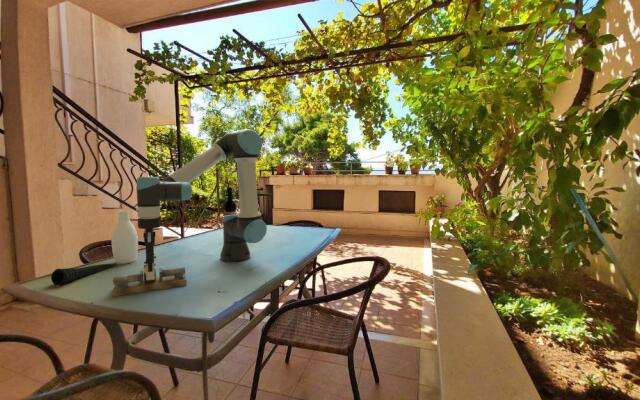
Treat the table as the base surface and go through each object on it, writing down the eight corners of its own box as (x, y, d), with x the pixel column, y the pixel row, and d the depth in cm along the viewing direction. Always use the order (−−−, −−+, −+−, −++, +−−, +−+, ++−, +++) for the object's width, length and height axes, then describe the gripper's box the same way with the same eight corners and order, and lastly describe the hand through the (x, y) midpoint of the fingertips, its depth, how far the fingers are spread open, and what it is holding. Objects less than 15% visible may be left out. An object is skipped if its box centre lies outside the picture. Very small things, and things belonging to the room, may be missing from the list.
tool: (63, 287, 115) (62, 270, 115) (50, 285, 116) (49, 269, 116) (124, 266, 142) (123, 253, 141) (113, 265, 143) (112, 252, 143)
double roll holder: (184, 278, 125) (184, 264, 125) (186, 285, 117) (186, 270, 117) (115, 288, 114) (115, 272, 113) (112, 296, 106) (111, 279, 105)
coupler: (156, 279, 118) (155, 262, 117) (156, 282, 114) (155, 265, 114) (144, 280, 116) (143, 263, 115) (143, 284, 112) (143, 266, 112)
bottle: (133, 257, 157) (131, 209, 155) (142, 260, 151) (140, 210, 149) (108, 262, 148) (106, 211, 146) (117, 266, 142) (115, 212, 140)
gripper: (138, 215, 119) (140, 272, 121) (136, 220, 104) (138, 286, 106) (160, 214, 123) (161, 270, 124) (160, 219, 108) (161, 283, 109)
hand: (150, 277), depth 115 cm, fingers closed on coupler, 4 cm apart
